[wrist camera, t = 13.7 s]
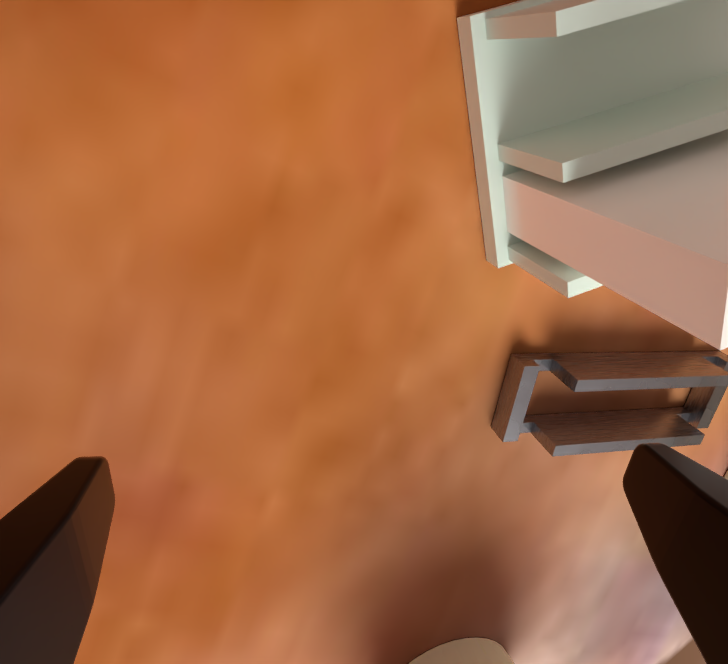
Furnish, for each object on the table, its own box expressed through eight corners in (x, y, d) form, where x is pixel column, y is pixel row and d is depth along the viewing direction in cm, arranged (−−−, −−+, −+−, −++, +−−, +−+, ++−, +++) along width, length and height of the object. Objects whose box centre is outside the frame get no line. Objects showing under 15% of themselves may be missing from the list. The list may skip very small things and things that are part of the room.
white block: (507, 231, 22) (720, 350, 13) (502, 176, 20) (730, 266, 12) (724, 160, 23) (1045, 225, 14) (730, 105, 22) (1081, 139, 13)
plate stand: (490, 427, 27) (516, 459, 25) (511, 353, 26) (541, 381, 23) (690, 415, 31) (727, 442, 29) (719, 351, 30) (761, 374, 27)
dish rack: (486, 260, 23) (555, 308, 19) (456, 17, 19) (538, 7, 14) (710, 183, 25) (821, 211, 20) (733, -58, 20) (881, -88, 16)
